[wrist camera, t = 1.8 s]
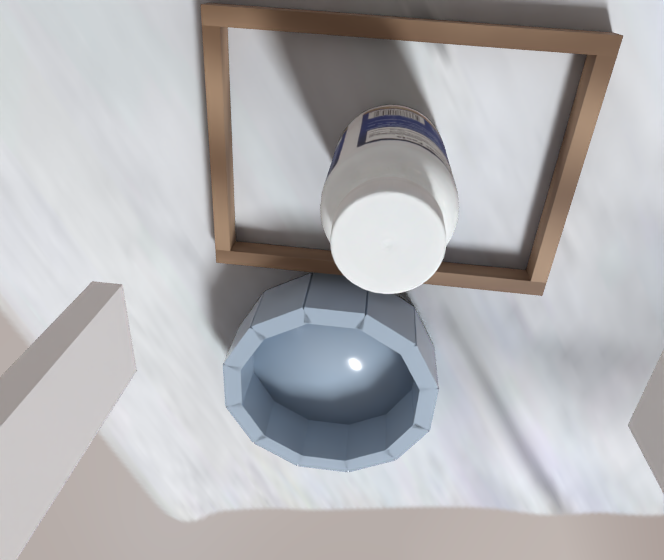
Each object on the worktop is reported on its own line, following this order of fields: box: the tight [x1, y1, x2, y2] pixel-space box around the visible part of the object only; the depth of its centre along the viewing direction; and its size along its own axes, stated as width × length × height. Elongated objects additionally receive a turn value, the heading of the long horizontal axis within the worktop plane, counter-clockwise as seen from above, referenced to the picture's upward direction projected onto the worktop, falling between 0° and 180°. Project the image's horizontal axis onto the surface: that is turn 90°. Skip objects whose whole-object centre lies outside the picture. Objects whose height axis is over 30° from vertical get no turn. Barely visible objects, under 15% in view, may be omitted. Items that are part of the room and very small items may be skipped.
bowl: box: [223, 273, 439, 472], centre depth 32 cm, size 12×12×4 cm
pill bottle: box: [320, 105, 459, 294], centre depth 22 cm, size 5×5×10 cm
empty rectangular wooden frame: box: [201, 3, 623, 296], centre depth 26 cm, size 13×18×1 cm
